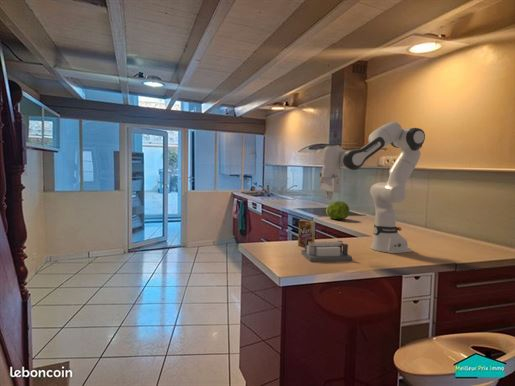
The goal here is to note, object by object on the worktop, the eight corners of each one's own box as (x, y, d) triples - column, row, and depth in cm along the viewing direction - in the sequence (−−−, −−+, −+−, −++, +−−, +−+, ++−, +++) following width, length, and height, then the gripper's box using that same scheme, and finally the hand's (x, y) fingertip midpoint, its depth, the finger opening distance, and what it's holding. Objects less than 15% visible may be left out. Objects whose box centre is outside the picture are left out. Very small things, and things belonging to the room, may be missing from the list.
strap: (340, 243, 169) (340, 240, 169) (343, 245, 165) (343, 242, 165) (307, 244, 166) (307, 240, 166) (310, 246, 162) (310, 242, 162)
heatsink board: (339, 253, 175) (340, 236, 174) (351, 260, 161) (352, 242, 160) (301, 253, 171) (302, 237, 170) (310, 261, 157) (311, 243, 156)
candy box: (297, 245, 189) (298, 220, 187) (300, 244, 192) (301, 219, 191) (311, 248, 184) (312, 222, 182) (314, 246, 187) (315, 221, 186)
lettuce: (335, 217, 308) (331, 200, 308) (354, 217, 289) (350, 198, 288) (322, 222, 299) (319, 204, 298) (341, 222, 279) (337, 203, 278)
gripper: (344, 175, 164) (342, 201, 166) (328, 174, 185) (327, 197, 186) (332, 174, 163) (331, 201, 164) (318, 173, 183) (317, 197, 185)
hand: (329, 199), depth 175 cm, fingers closed
